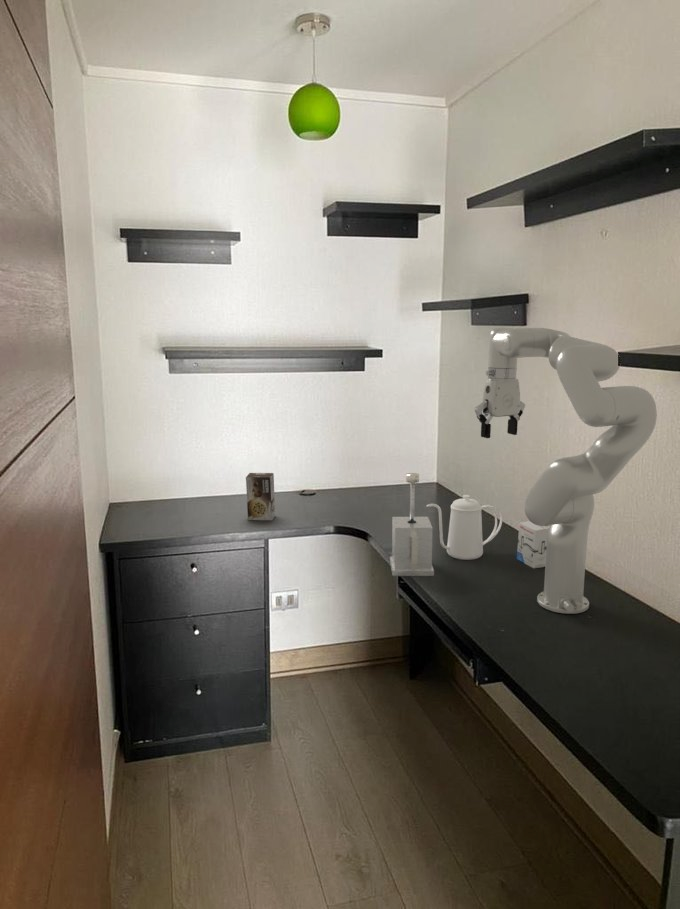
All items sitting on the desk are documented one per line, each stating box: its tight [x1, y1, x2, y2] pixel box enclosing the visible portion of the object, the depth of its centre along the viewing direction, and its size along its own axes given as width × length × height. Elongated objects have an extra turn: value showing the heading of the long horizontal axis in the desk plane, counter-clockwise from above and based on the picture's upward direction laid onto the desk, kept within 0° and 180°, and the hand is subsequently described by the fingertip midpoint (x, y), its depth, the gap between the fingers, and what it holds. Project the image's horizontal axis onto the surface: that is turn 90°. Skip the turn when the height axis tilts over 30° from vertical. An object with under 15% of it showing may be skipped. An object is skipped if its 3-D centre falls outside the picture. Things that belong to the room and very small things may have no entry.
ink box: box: [516, 520, 550, 569], centre depth 202 cm, size 9×5×12 cm, turn 21°
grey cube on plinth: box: [389, 516, 435, 577], centre depth 197 cm, size 14×12×14 cm
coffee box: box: [245, 472, 276, 521], centre depth 247 cm, size 9×6×16 cm
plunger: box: [405, 472, 420, 523], centre depth 196 cm, size 7×7×18 cm
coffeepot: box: [425, 494, 504, 561], centre depth 208 cm, size 11×25×19 cm, turn 105°
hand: (498, 435), depth 191 cm, fingers open, 9 cm apart
